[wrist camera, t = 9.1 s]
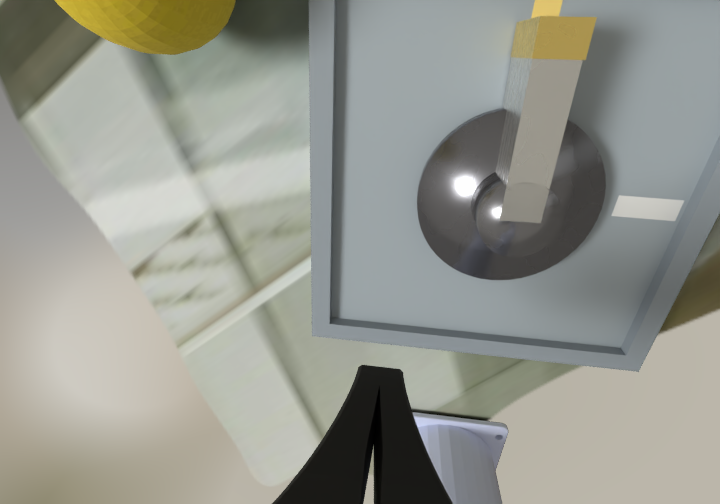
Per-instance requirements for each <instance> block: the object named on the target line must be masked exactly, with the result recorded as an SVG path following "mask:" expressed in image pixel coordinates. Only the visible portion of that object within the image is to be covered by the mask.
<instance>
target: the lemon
mask: <svg viewBox="0 0 720 504" xmlns="http://www.w3.org/2000/svg"><path fill="white" fill-rule="evenodd" d="M55 1H56V2H57V4H58V5H59V6H60V7H61V8H63V9H64V10H65V11H66V12H67V13H68V14H69V15H70V16H71V17H72V18H73V19H74V20H76V21H77V22H78V23H80V24H81V25H82V26H84V27H86V28H87V29H89V30H91V31H92V32H94V33H96V34H97V35H99V36H101V37H102V38H104V39H106V40H108V41H110V42H113V43H115V44H118V45H121V46H124V47H127V48H130V49H134V50H137V51H140V52H144V53H151V54H170V55H173V54H180V53H183V52H187V51H191V50H194V49H198V48H200V47H202V46H203V45H205V44H206V43H208V42H209V41H211V40H212V39H214V38H215V37H216V36H217V35H218V34H219V33H220V31H221V30H222V29H223V28H224V27H225V25H226V24H227V23H228V20H229V18H230V16H231V13H232V11H233V9H234V6H235V1H236V0H55Z"/></svg>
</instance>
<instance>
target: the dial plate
mask: <svg viewBox="0 0 720 504" xmlns="http://www.w3.org/2000/svg"><path fill="white" fill-rule="evenodd" d="M539 16H566V17H597V19H596V23H595V26H594V30H593V34H592V38H591V42H590V45H589V49H588V53H587V57H586V60H583V61H582V65H581V69H580V73H579V77H578V81H577V85H576V88H575V92H574V96H573V100H572V104H571V108H570V112H569V116H568V120H569V121H571V122H573V123H574V124H576V125H577V126H578V127H580V128H581V129H582V130H583V131H584V132H585V133H586V134H587V135H588V136H589V137H590V139H591V140H592V141H593V142H594V144H595V146H596V148H597V149H598V151H599V153H600V156H601V158H602V161H603V164H604V169H605V175H606V190H605V198H604V202H603V206H602V210H601V212H600V214H599V217H598V219H597V221H596V223H595V225H594V227H593V228H592V230H591V232H590V233H589V234H588V236H587V237H586V238H585V240H584V241H583V242H582V243H581V244H580V245H579V246H578V247H577V249H575V250H574V251H573V252H572V253H571V254H570V255H569V256H567V257H566V258H565V259H563V260H562V261H560V262H559V263H557V264H556V265H554V266H552V267H550V268H548V269H546V270H544V271H542V272H539V273H537V274H534V275H531V276H527V277H523V278H518V279H512V280H487V279H480V278H476V277H472V276H469V275H466V274H464V273H461V272H459V271H457V270H455V269H454V268H452V267H450V266H449V265H447V264H446V263H445V262H443V261H442V260H441V259H440V258H439V257H438V256H437V255H436V254H435V253H434V251H433V250H432V249H431V248H430V246H429V245H428V243H427V241H426V240H425V238H424V235H423V233H422V231H421V227H420V224H419V220H418V211H417V191H418V185H419V181H420V177H421V174H422V171H423V169H424V167H425V165H426V162H427V160H428V159H429V157H430V156H431V154H432V152H433V151H434V150H435V148H436V147H437V146H438V145H439V143H440V142H441V141H442V140H443V139H444V138H445V137H446V136H447V135H448V134H449V133H450V132H452V131H453V130H454V129H456V128H457V127H458V126H459V125H461V124H463V123H464V122H466V121H468V120H469V119H471V118H473V117H475V116H478V115H480V114H482V113H485V112H488V111H492V110H495V109H499V108H503V102H504V97H505V91H506V86H507V80H508V75H509V69H510V64H511V58H512V57H510V56H511V51H512V45H513V40H514V34H515V29H516V23H517V22H519V21H523V20H527V19H531V18H535V17H539ZM309 87H310V182H311V278H312V336H317V337H326V338H335V339H344V340H353V341H362V342H372V343H381V344H390V345H399V346H408V347H417V348H427V349H436V350H445V351H454V352H463V353H472V354H482V355H491V356H500V357H509V358H518V359H527V360H537V361H546V362H555V363H564V364H573V365H582V366H592V367H601V368H610V369H619V370H628V371H637V372H639V370H640V368H641V366H642V364H643V362H644V360H645V358H646V356H647V354H648V352H649V350H650V348H651V346H652V344H653V342H654V340H655V338H656V337H657V335H658V333H659V331H660V329H661V327H662V325H663V323H664V321H665V319H666V317H667V315H668V313H669V311H670V309H671V307H672V305H673V303H674V301H675V299H676V297H677V295H678V294H679V292H680V290H681V288H682V286H683V284H684V282H685V280H686V278H687V276H688V274H689V272H690V270H691V268H692V266H693V264H694V262H695V260H696V258H697V256H698V254H699V252H700V251H701V249H702V247H703V245H704V243H705V241H706V239H707V237H708V235H709V233H710V231H711V229H712V227H713V225H714V223H715V221H716V219H717V217H718V215H719V213H720V0H309Z"/></svg>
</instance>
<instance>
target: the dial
mask: <svg viewBox="0 0 720 504" xmlns="http://www.w3.org/2000/svg"><path fill="white" fill-rule="evenodd" d="M596 19H597V17H566V16H539V17H535V18H531V19H527V20H523V21H519V22H517V23H516V29H515V34H514V40H513V45H512V51H511V56H510V57H512V58H511V64H510V69H509V75H508V80H507V86H506V91H505V97H504V102H503V108H499V109H495V110H492V111H488V112H485V113H482V114H480V115H478V116H475V117H473V118H471V119H469V120H468V121H466V122H464V123H463V124H461V125H459V126H458V127H457V128H456V129H454V130H453V131H452V132H450V133H449V134H448V135H447V136H446V137H445V138H444V139H443V140H442V141H441V142H440V143H439V145H438V146H437V147H436V148H435V150H434V151H433V152H432V154H431V156H430V157H429V159H428V160H427V162H426V165H425V167H424V169H423V171H422V174H421V177H420V181H419V185H418V191H417V211H418V220H419V224H420V227H421V231H422V233H423V235H424V238H425V240H426V241H427V243H428V245H429V246H430V248H431V249H432V250H433V251H434V253H435V254H436V255H437V256H438V257H439V258H440V259H441V260H442V261H443V262H445V263H446V264H447V265H449V266H450V267H452V268H454V269H455V270H457V271H459V272H461V273H464V274H466V275H469V276H472V277H476V278H480V279H487V280H512V279H518V278H523V277H527V276H531V275H534V274H537V273H539V272H542V271H544V270H546V269H548V268H550V267H552V266H554V265H556V264H557V263H559V262H560V261H562V260H563V259H565V258H566V257H567V256H569V255H570V254H571V253H572V252H573V251H574V250H575V249H577V247H578V246H579V245H580V244H581V243H582V242H583V241H584V240H585V238H586V237H587V236H588V234H589V233H590V232H591V230H592V228H593V227H594V225H595V223H596V221H597V219H598V217H599V214H600V212H601V210H602V206H603V202H604V198H605V190H606V175H605V169H604V164H603V161H602V158H601V156H600V153H599V151H598V149H597V148H596V146H595V144H594V142H593V141H592V140H591V139H590V137H589V136H588V135H587V134H586V133H585V132H584V131H583V130H582V129H581V128H580V127H578V126H577V125H576V124H574V123H573V122H571V121H569V120H568V116H569V112H570V108H571V104H572V100H573V96H574V92H575V88H576V85H577V81H578V77H579V73H580V69H581V65H582V61H583V60H586V57H587V53H588V49H589V45H590V42H591V38H592V34H593V30H594V26H595V23H596Z"/></svg>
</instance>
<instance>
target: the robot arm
mask: <svg viewBox="0 0 720 504" xmlns="http://www.w3.org/2000/svg"><path fill="white" fill-rule="evenodd" d="M507 435H508V428H507V426H506V425H505V424H503V423H498V422H490V421H482V420H474V419H465V418H457V417H449V416H441V415H432V414H424V413H416V412H412V410H411V407H410V403H409V400H408V396H407V393H406V388H405V384H404V378H403V372H402V371H401V370H400V369H393V368H384V367H376V366H367V365H361V366H360V367H358V371H357V374H356V377H355V380H354V383H353V385H352V387H351V389H350V392H349V394H348V396H347V398H346V400H345V402H344V404H343V406H342V407H341V409H340V411H339V413H338V415H337V417H336V418H335V420H334V422H333V423H332V425H331V427H330V428H329V430H328V431H327V433H326V435H325V436H324V438H323V439H322V441H321V442H320V444H319V445H318V447H317V448H316V450H315V451H314V453H313V454H312V455H311V457H310V458H309V460H308V461H307V462H306V464H305V465H304V466H303V468H302V469H301V470H300V471H299V473H298V474H297V475H296V476H295V478H294V479H293V480H292V481H291V483H290V484H289V485H288V487H287V488H286V489H285V490H284V491H283V492H282V494H281V495H280V496H279V497H278V498H277V499H276V500H275V501H274V502H273V503H272V504H363V501H364V496H365V490H366V484H367V479H368V473H369V468H370V462H371V456H372V450H373V445H374V504H502V500H501V496H500V491H499V486H498V481H497V476H496V472H495V471H496V468H497V465H498V462H499V459H500V456H501V453H502V449H503V447H504V444H505V441H506V438H507Z"/></svg>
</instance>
